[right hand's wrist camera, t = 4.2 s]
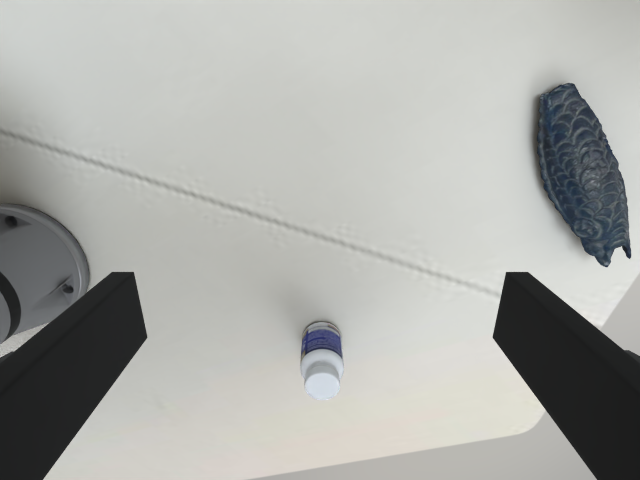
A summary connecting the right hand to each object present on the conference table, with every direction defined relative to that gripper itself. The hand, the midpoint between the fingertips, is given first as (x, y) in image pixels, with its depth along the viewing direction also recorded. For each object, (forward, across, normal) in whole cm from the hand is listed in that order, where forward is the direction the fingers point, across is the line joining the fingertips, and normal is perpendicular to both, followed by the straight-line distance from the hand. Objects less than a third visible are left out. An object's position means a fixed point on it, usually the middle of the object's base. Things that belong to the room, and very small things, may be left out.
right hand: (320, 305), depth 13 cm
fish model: (+29, -29, +1) cm, 41 cm away
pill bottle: (+29, 0, +23) cm, 37 cm away
